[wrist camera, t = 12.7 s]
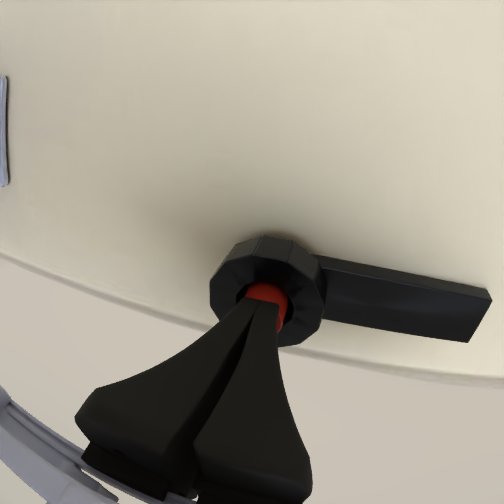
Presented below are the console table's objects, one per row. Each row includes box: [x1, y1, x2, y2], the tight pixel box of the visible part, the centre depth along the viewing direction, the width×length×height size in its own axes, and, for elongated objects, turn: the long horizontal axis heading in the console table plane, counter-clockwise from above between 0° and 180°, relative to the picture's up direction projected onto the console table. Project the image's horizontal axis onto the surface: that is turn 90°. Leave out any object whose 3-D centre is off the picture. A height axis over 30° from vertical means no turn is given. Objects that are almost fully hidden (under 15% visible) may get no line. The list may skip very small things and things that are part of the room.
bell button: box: [244, 282, 290, 333], centre depth 13 cm, size 2×2×2 cm
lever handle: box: [210, 235, 492, 347], centre depth 13 cm, size 13×5×2 cm, turn 86°
